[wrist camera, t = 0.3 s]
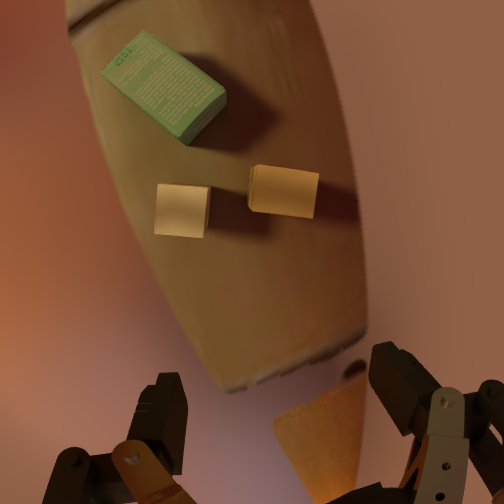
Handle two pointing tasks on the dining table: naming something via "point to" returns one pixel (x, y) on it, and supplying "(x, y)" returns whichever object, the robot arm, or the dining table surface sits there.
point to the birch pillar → (182, 209)
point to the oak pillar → (282, 191)
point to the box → (166, 86)
